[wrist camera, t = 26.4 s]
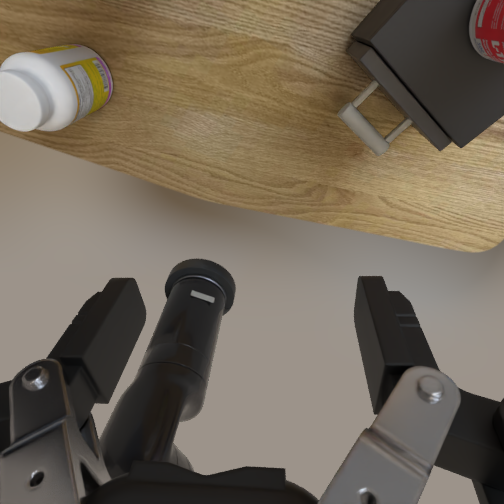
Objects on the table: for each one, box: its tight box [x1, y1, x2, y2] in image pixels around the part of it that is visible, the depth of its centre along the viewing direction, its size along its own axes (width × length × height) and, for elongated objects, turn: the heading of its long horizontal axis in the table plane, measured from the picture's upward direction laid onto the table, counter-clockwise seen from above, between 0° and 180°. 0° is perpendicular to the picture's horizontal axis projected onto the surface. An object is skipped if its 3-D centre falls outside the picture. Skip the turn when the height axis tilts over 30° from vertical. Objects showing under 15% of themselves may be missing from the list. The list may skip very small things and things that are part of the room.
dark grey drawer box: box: [351, 0, 504, 148], centre depth 29 cm, size 16×13×10 cm
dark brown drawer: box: [337, 41, 452, 156], centre depth 31 cm, size 19×11×8 cm, turn 140°
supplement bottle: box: [0, 44, 113, 131], centre depth 33 cm, size 7×7×13 cm
